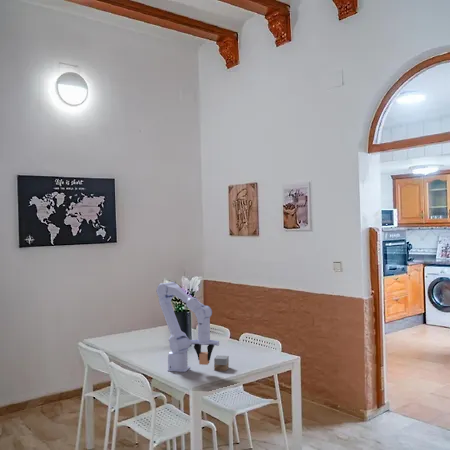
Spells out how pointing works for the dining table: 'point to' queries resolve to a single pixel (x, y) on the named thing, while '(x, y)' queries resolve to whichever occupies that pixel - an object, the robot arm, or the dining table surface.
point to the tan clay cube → (203, 358)
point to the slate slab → (221, 360)
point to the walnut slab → (221, 367)
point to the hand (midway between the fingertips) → (204, 359)
